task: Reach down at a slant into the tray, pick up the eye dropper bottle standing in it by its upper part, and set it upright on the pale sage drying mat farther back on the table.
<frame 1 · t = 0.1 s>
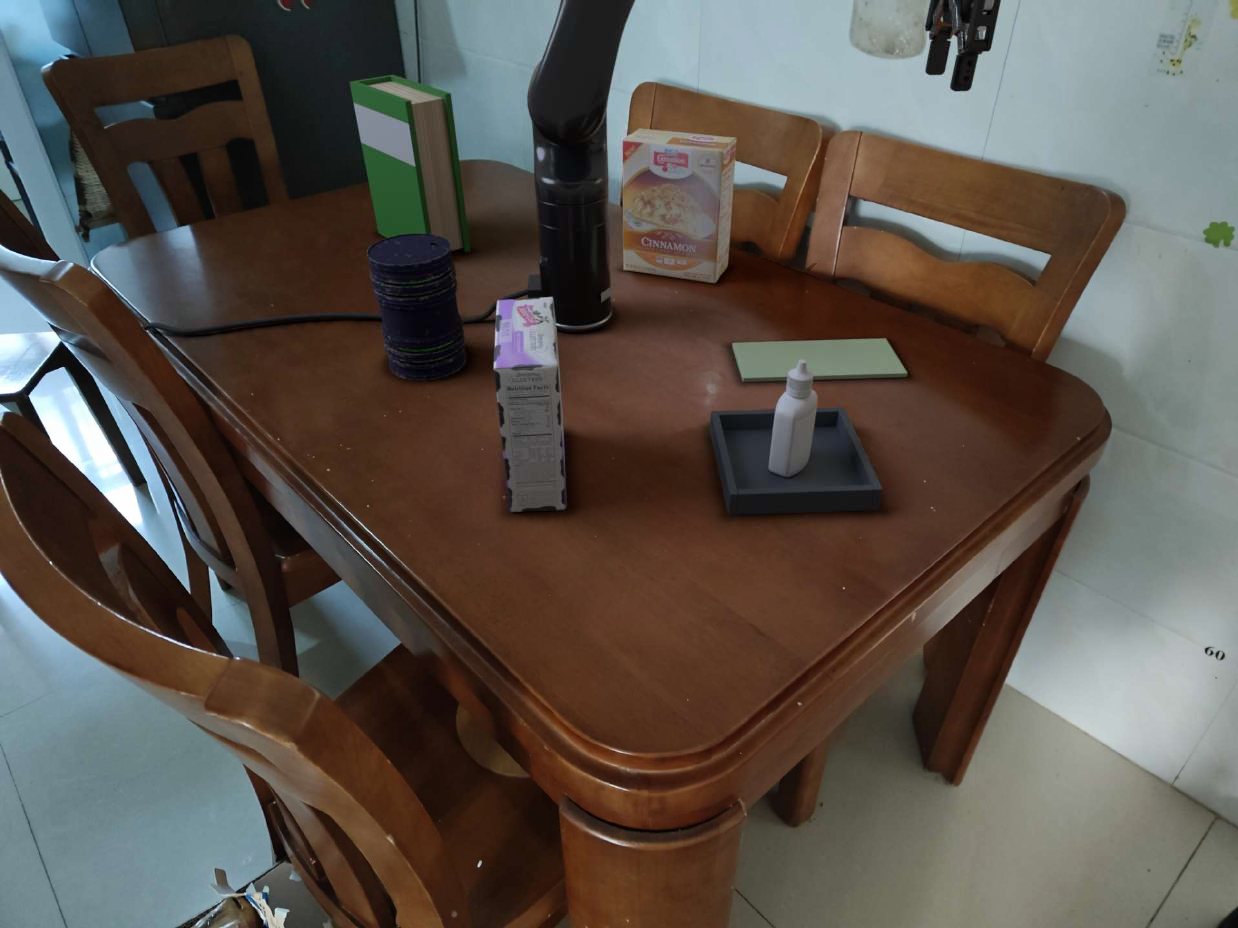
hand: (946, 82, 98), 29 cm above the table, tool pointing down, fingers open, 8 cm apart
coffeecake box: (675, 270, 127), on the table
hardback book: (423, 243, 138), on the table
drying mat: (816, 361, 103), on the table
tray: (788, 467, 86), on the table
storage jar: (428, 362, 105), on the table
eye dropper bottle: (788, 464, 85), resting on tray
candy box: (538, 471, 86), on the table
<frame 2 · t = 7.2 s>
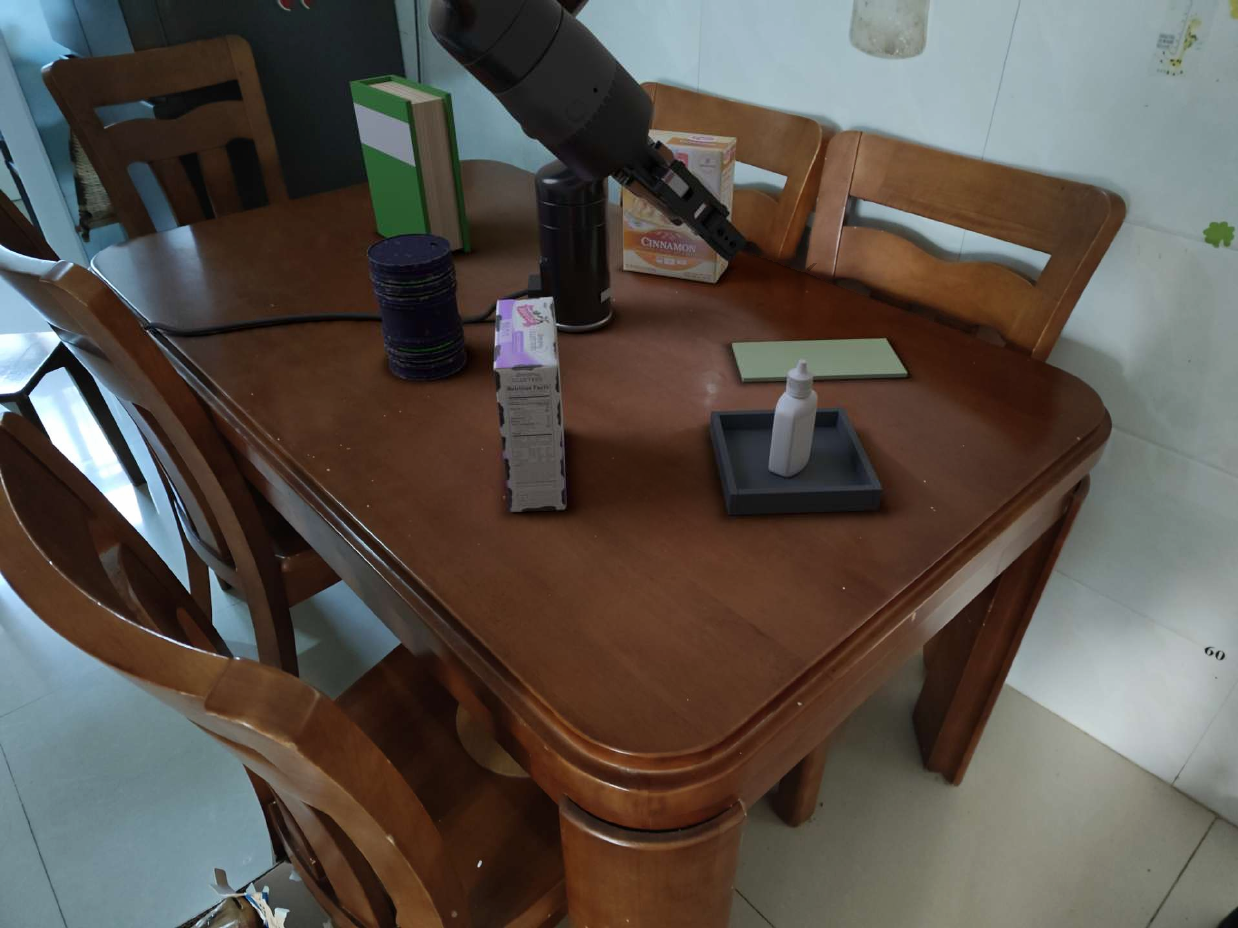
hand: (709, 233, 67), 27 cm above the table, tool tilted 45°, fingers open, 8 cm apart
nothing on the table moved.
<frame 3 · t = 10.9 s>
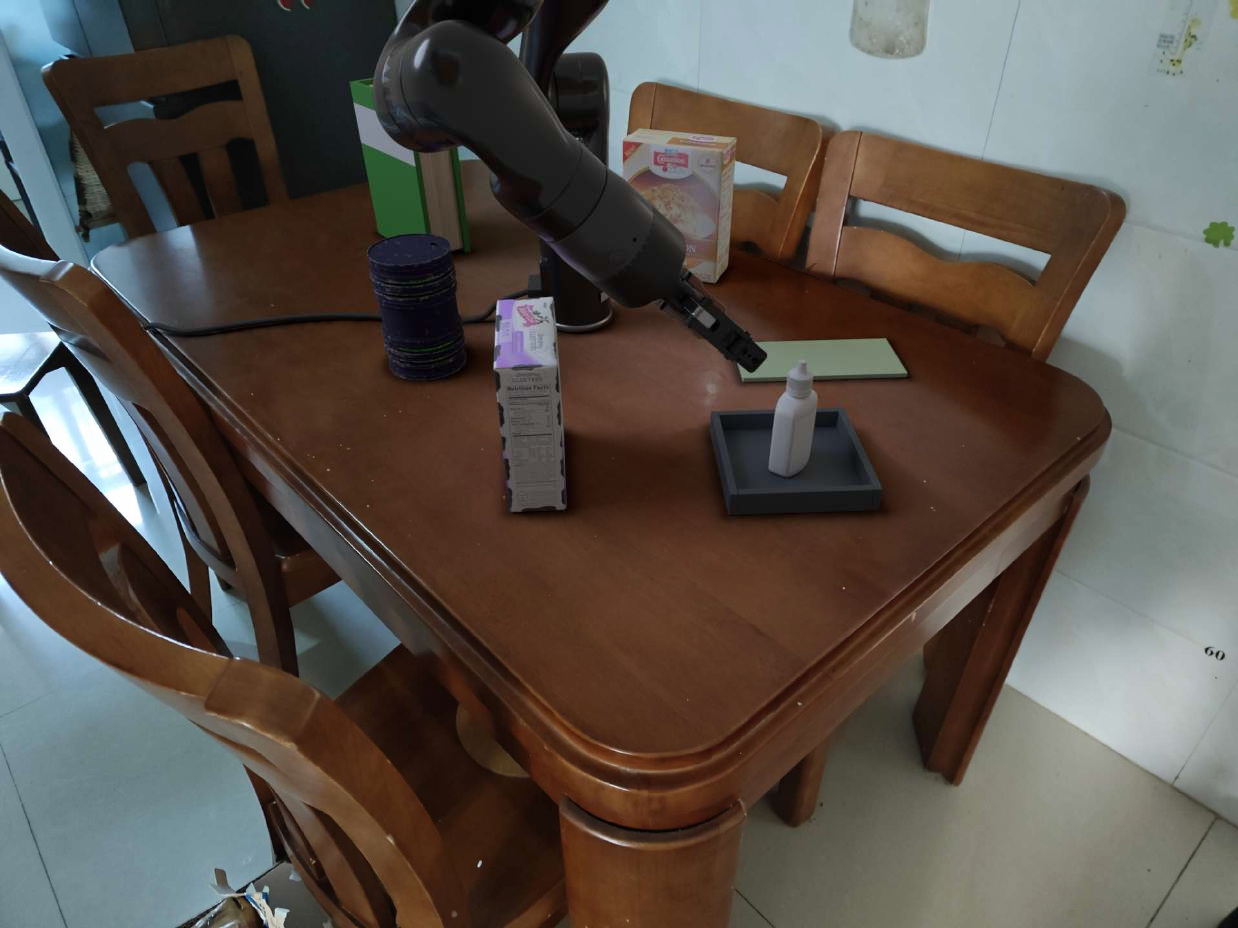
hand: (734, 341, 74), 16 cm above the table, tool tilted 45°, fingers open, 8 cm apart
nothing on the table moved.
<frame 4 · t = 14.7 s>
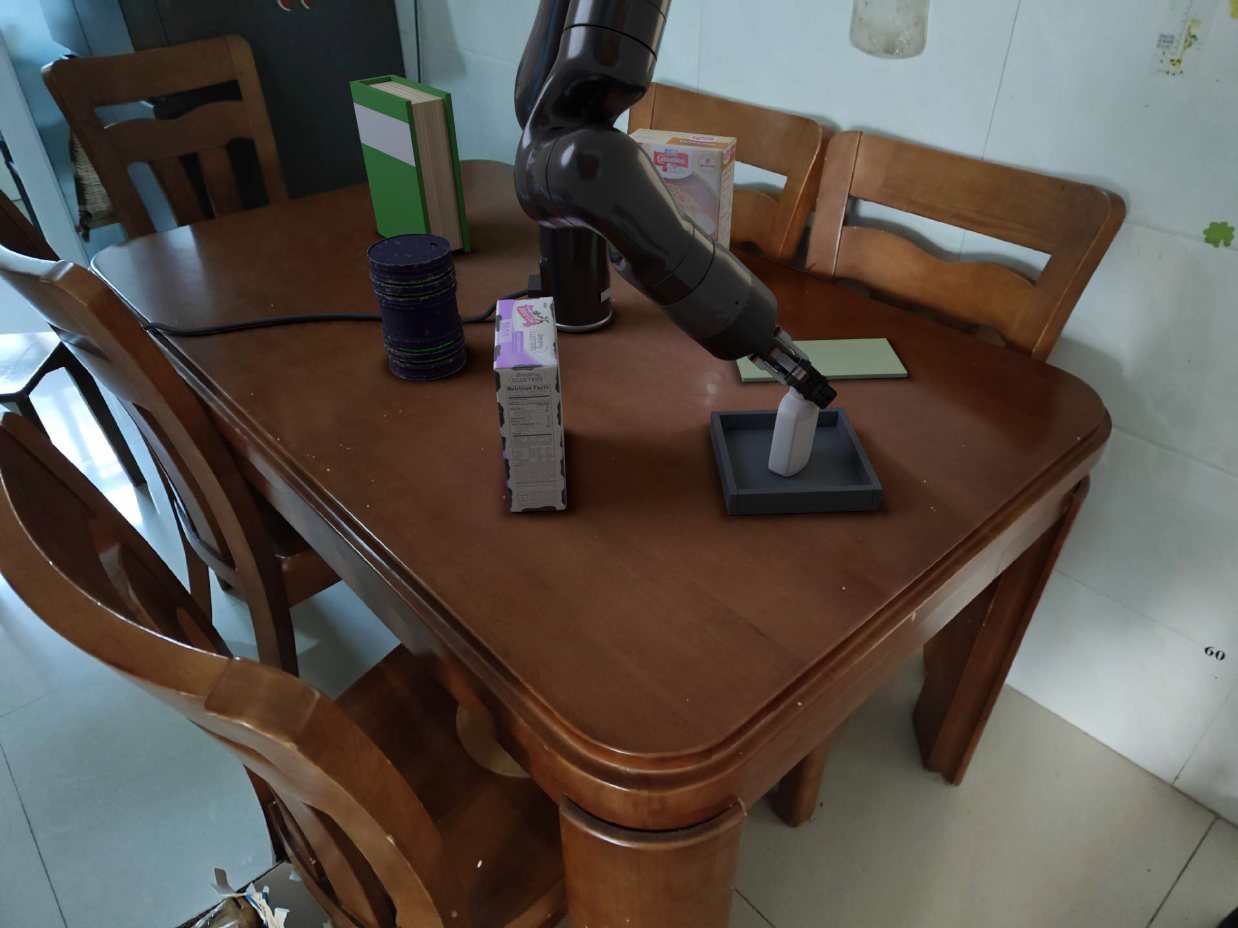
hand: (816, 389, 81), 9 cm above the table, tool tilted 45°, fingers closed on eye dropper bottle, 3 cm apart
eye dropper bottle: (788, 463, 85), resting on tray, touching gripper
everything else where it was.
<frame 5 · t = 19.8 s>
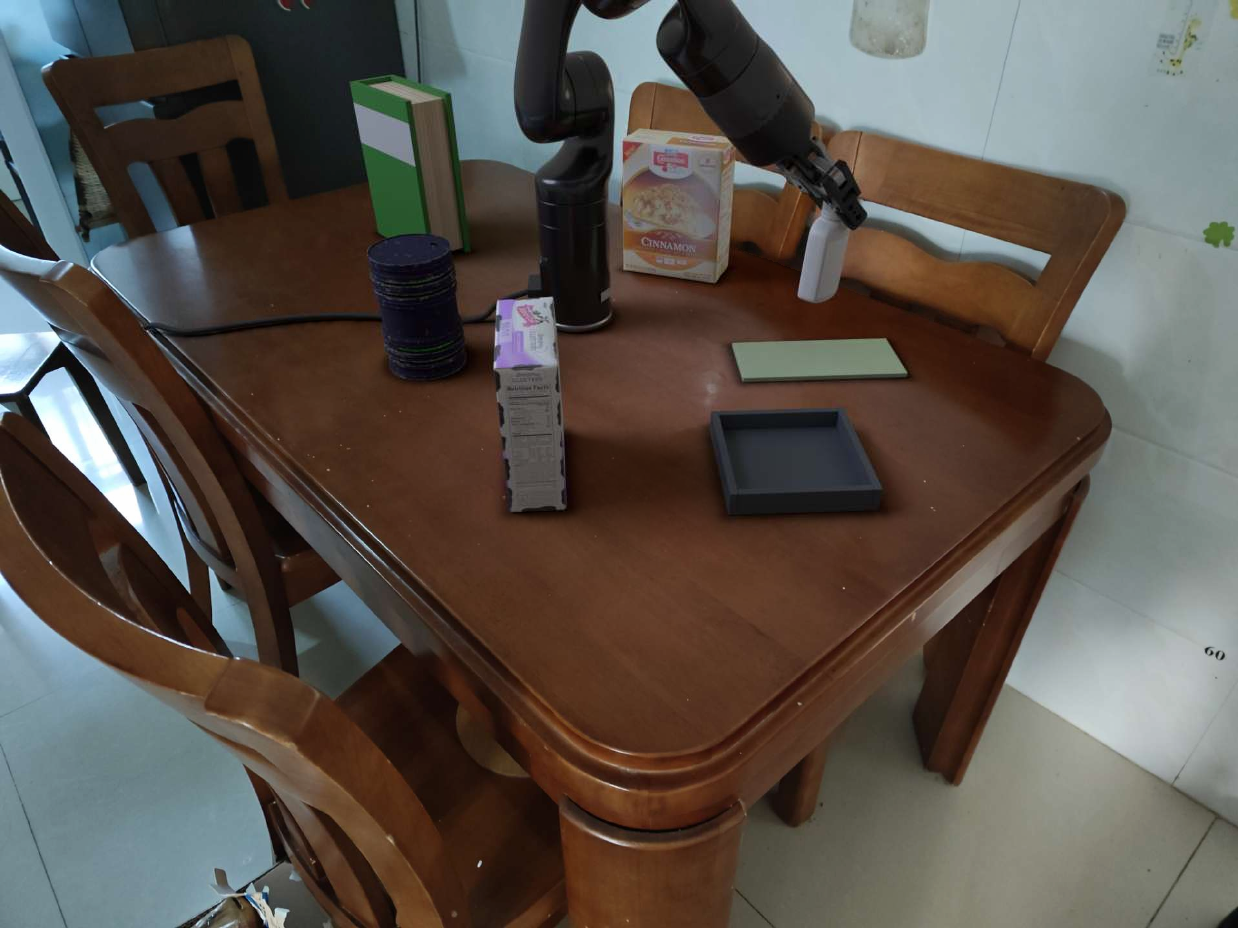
hand: (846, 215, 84), 22 cm above the table, tool tilted 45°, fingers closed on eye dropper bottle, 3 cm apart
eye dropper bottle: (817, 295, 89), point 13 cm above the table, touching gripper
everything else where it was.
when the fingers open (9 cm above the table, at t = 25.1 s): eye dropper bottle stays where it is, resting on drying mat.
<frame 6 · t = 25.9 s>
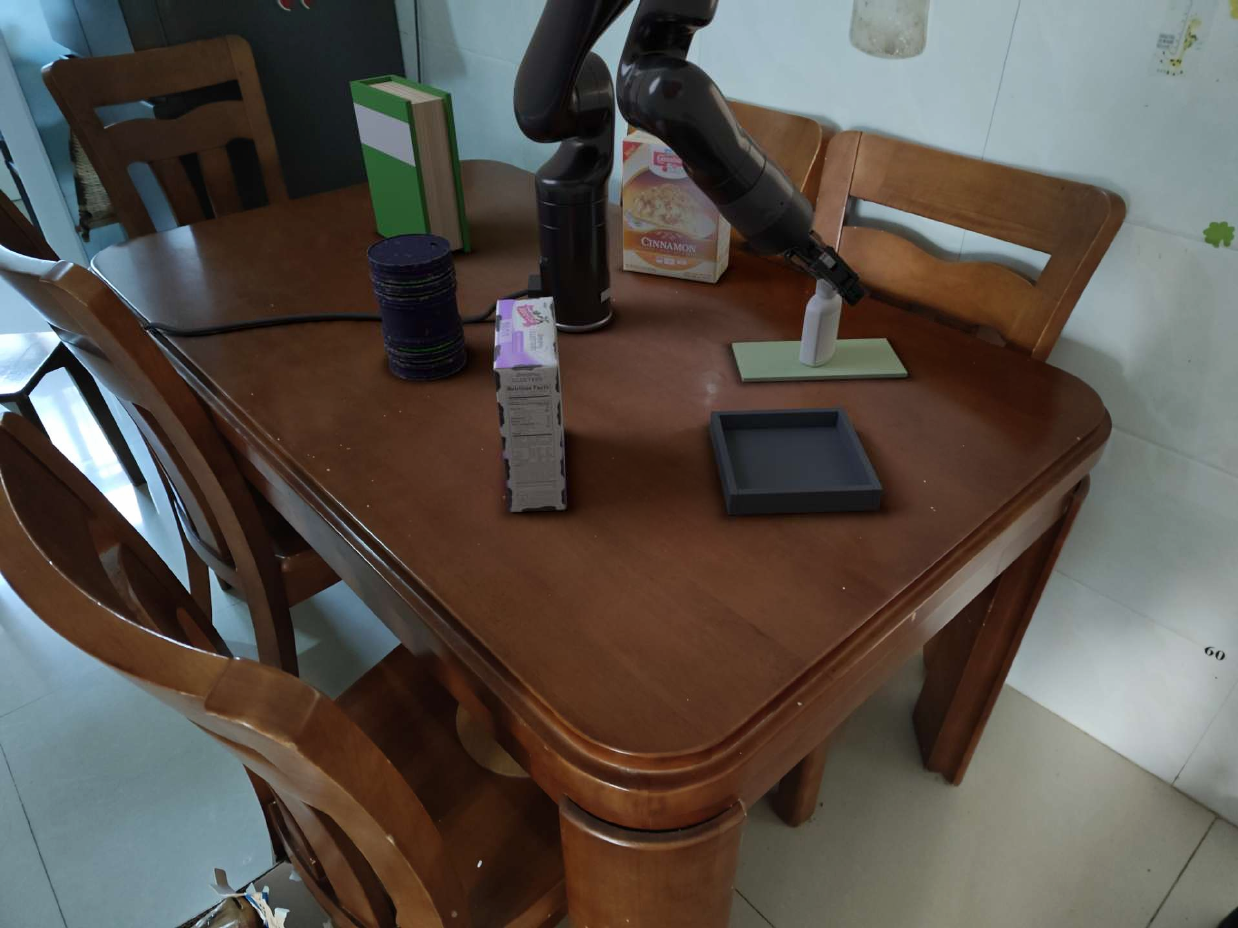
hand: (836, 285, 98), 10 cm above the table, tool tilted 45°, fingers open, 8 cm apart
eye dropper bottle: (816, 359, 103), resting on drying mat
everything else where it was.
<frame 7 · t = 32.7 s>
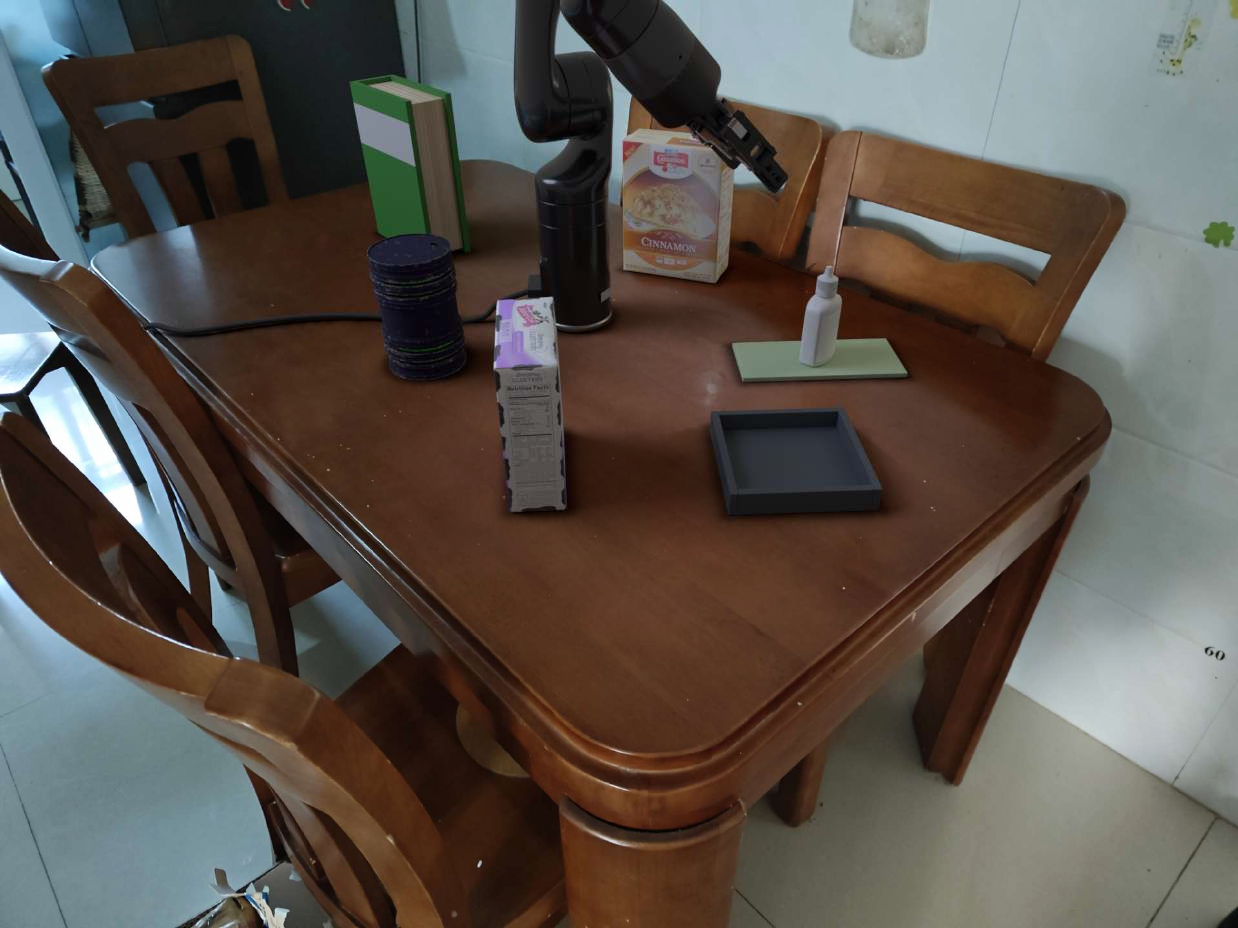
hand: (759, 173, 86), 25 cm above the table, tool tilted 45°, fingers open, 8 cm apart
nothing on the table moved.
at the end: eye dropper bottle inside the target area on the drying mat (0.1 cm from its centre), point 0.4 cm above the drying mat's base; eye dropper bottle tilted 0° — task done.
